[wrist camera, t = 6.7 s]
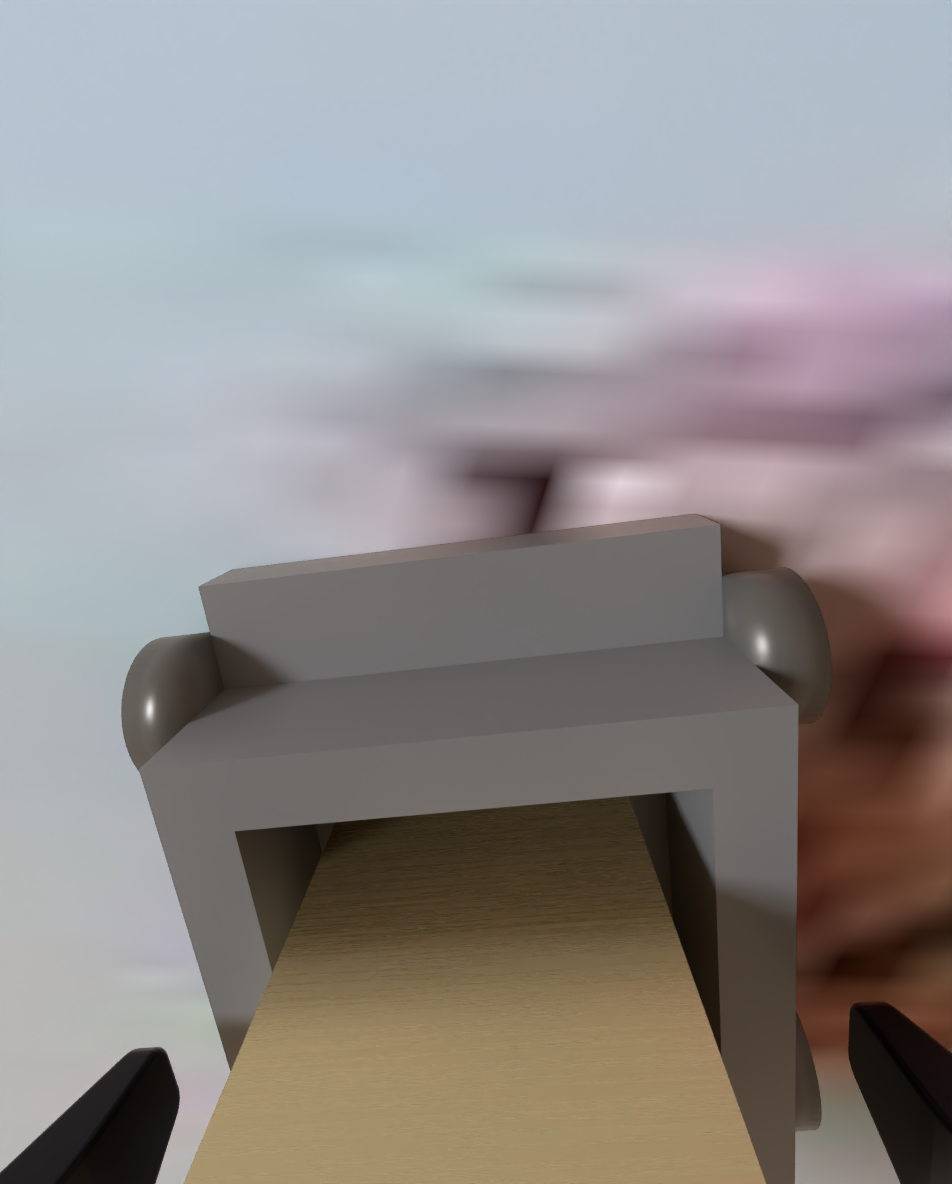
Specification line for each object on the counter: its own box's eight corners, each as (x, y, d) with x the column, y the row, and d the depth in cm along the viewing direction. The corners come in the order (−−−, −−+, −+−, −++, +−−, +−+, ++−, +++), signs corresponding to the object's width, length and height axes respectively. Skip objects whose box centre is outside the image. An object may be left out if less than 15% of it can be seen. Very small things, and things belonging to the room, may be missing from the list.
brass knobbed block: (632, 981, 11) (845, 1861, 4) (391, 996, 11) (231, 1842, 5) (617, 764, 10) (876, 1493, 3) (350, 787, 10) (52, 1495, 3)
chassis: (761, 1060, 13) (858, 1292, 9) (310, 1086, 14) (245, 1312, 10) (756, 506, 10) (895, 546, 6) (177, 576, 11) (18, 646, 7)
